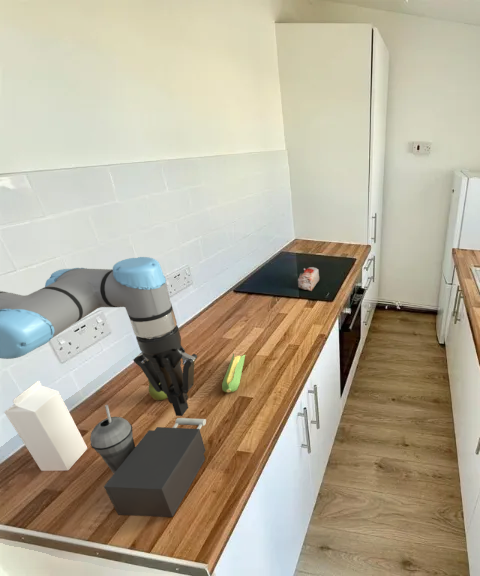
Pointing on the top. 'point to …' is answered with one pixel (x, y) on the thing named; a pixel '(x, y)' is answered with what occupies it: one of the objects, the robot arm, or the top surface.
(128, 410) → the top surface
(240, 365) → the edible corn
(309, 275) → the food item
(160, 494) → the cabinet
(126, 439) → the beverage cup
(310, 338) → the top surface
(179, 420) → the drawer
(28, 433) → the milk
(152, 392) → the pear
